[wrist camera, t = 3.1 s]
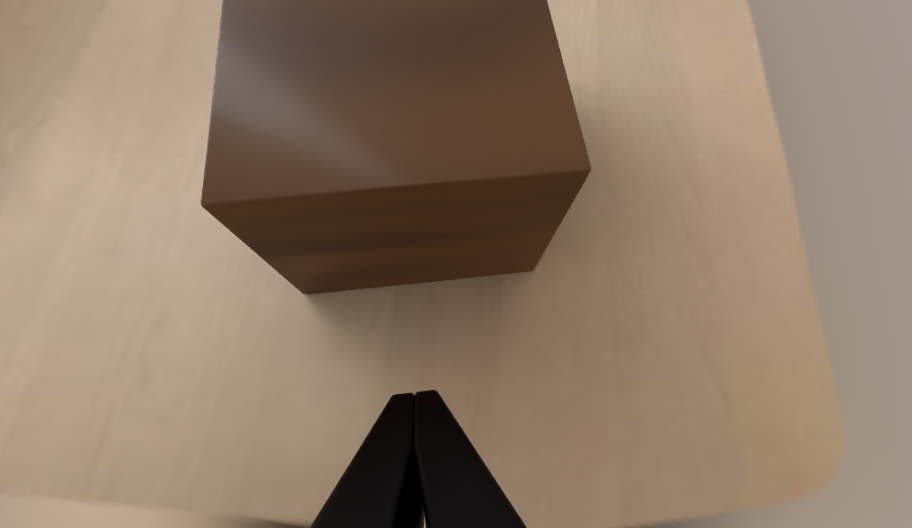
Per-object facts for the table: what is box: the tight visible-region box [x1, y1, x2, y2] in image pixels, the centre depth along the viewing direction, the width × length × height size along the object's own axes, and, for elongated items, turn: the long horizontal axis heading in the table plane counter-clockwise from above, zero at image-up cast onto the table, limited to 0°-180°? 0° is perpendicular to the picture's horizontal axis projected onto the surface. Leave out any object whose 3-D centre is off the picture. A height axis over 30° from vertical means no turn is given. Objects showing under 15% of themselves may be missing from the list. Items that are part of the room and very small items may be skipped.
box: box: [201, 0, 591, 294], centre depth 16 cm, size 11×10×8 cm
